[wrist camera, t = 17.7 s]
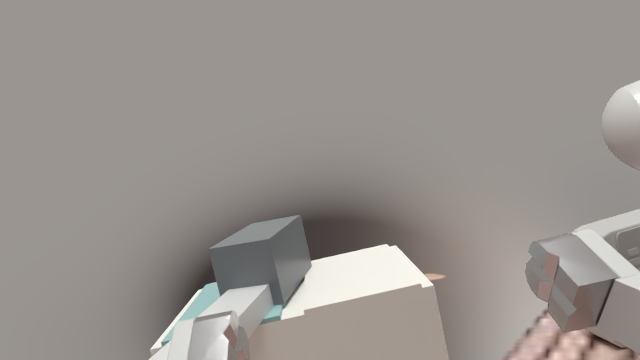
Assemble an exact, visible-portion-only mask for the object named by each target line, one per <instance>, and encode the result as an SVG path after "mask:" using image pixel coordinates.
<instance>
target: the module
mask: <svg viewBox="0 0 640 360" xmlns="http://www.w3.org/2000/svg"><path fill="white" fill-rule="evenodd" d="M209 253H210V257H211V261H212V265H213V269H214V274H215V278H216V281H217V286H218V290H219V294H220V298H218V299H217V300H216V301H215V302H214V303H213V304H212V305H210V306H209V307H208V308H207V309H206V310H205V311H204V312H202V313H201V314H200V315H199V316H198V317H201V316H206V315H211V314H216V313H221V312H227V311H232V310H235V311H236V313H237V315H238V317H239V324H238V325H239V326H241V327H243V328H244V330H245V332H246V335H247V338H249V337H250V336H251V335H252V333H253V332H254V331H255V329H256V328H257V327H258V326H259V324H260V323H261V322H262V320H263V319H264V318H265V316H266V315H267V314H268V313H269V311H270V310H271V309H272V307H273V306H275V305H283V304H285V303H286V301H287V300H288V299H289V297H290V296H291V294H292V293H293V292H294V290H295V289H296V287H297V286H298V285H299V283H300V282H301V281H302V279H303V278H304V276H305V275H306V274H307V272H308V271H309V269H310V268H311V267H312V264H311V260H310V256H309V251H308V247H307V242H306V238H305V233H304V229H303V225H302V221H301V216H300V215H297V216H292V217H286V218H281V219H276V220H270V221H264V222H259V223H253V224H251V225H249V226H247V227H245V228H244V229H242V230H240V231H239V232H237V233H235V234H233V235H232V236H230V237H228V238H227V239H225V240H223V241H221V242H220V243H218V244H216V245H215V246H213V247H211V248H210V249H209ZM170 343H171V341H169V342H168V343H167V344H166V345H165V346H164V347H163V348H161V349H160V350H159V351H158V352H157V353H156V354H155V355H153V356H152V357H151V358H150V359H149V360H167V357H168V353H169V348H170Z"/></svg>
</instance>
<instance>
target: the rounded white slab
mask: <svg viewBox="0 0 640 360" xmlns="http://www.w3.org/2000/svg"><path fill="white" fill-rule="evenodd" d="M587 229H590V230H593V231H595V232H596V233H597V234H598V235H599V236H600V237H602V238H603V239H604V240H605V241H606V242H607V243H608V244H609V245H611V246H612V247H613V248H614V249H615V250H616V251H617V252H618V253H620V254H621V255H622V256H623V257H624V258H625V259H626V260H627V261H629V262H630V263H631V264H632V265H633V266H634V267H635V268H636V269H637V270H639V271H640V209H638V210H634V211H631V212H628V213H625V214H621V215H618V216H614V217H611V218H607V219H604V220H601V221H597V222H594V223H590V224H587V225H584V226H580V227H579V228H577V229H576V230H574V231H573V232H578V231H582V230H587ZM596 327H597V326H594V327H589V328H585V329H586V330H587V331H589V332H590V333H592V334H594V335H596V336H598V337H600V338H602V339H605V340H607V341H609V342H611V343H613V344H615V345H617V346H619V347H621V348H623V347H626V346H625V345H623V344H622V343H620V342H618V341H617V340H615V339H614V338H612V337H610V336H609V335H607V334H605V333H604V332H602V331H601V330H599V329H597V328H596Z"/></svg>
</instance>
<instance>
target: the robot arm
mask: <svg viewBox="0 0 640 360" xmlns="http://www.w3.org/2000/svg"><path fill="white" fill-rule="evenodd" d="M602 134H603V137H604V140H605V143H606V144H607V146H608V148H609V149H610V151H611V152H612V153H613V154H614V155H615V156H616V157H617V158H618V159H620V161H622V162H623V163H625V164H626V165H628V166H630V167H632V168H635V169H637V170H640V80H639V81H636V82H634V83H632V84H629V85H627V86H625V87H622V88H620V89H618V90H617V91H616V92H615V93H614V94H613V96H612V97H611V99H610V100H609V102H608V103H607V105H606V108H605V110H604V113H603V117H602ZM529 253H530V254H531V256H532V258H531V259H530V260H529V261H528V262H527V263H526V271H525V273H526V277H527V282H528V284H529V286H530V288H531V290H532V291H533V292H534V294H535V295H536V296H537V298H539V299H541V300H543V301H545V302H547V303H548V310H547V311H548V313H549V314H550V315H551V316H552V318H553V319H554V320H555V322H556V323H557V324H558V326H559V327H560V328H561V330H562V331H563V332H569V331H574V330H579V329H584V328H589V327H594V326H597V327H596V328H597V329H599V330H601V331H602V332H604V333H605V334H607V335H609V336H610V337H612V338H614V339H615V340H617V341H618V342H620V343H622V344H623V345H625V346H626V347H628V348H630V349H631V350H633V351H635V352H636V353H638V354H639V355H640V271H639V270H637V269H636V268H635V267H634V266H633V265H632V264H631V263H630V262H629V261H627V260H626V259H625V258H624V257H623V256H622V255H621V254H620V253H618V252H617V251H616V250H615V249H614V248H613V247H612V246H611V245H609V244H608V243H607V242H606V241H605V240H604V239H603V238H602V237H600V236H599V235H598V234H597V233H596V232H595V231H593V230H590V229H587V230H582V231H578V232H573V233H570V234H563V235H559V236H555V237H551V238H547V239H543V240H538V241H534V242H532V244H531V245H530V247H529ZM238 324H239V317H238V315H237V313H236V311H235V310H232V311H227V312H221V313H216V314H211V315H206V316H201V317H196V318H192V319H187V320H183V321H178V322H177V323H176V325H175V327H174V329H173V334H172V339H171V343H170V348H169V353H168V357H167V360H250V351H249V343H248V338H247V335H246V332H245V330H244V328H243V327H241V326H239V325H238Z"/></svg>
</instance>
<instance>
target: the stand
mask: <svg viewBox="0 0 640 360" xmlns="http://www.w3.org/2000/svg"><path fill="white" fill-rule="evenodd" d="M311 264H312V267H311V268H310V269H309V271H308V272H307V274H306V275H305V276H304V278H303V279H302V281H301V282H300V283H299V285H298V286H297V287H296V289H295V290H294V292H293V293H292V294H291V296H290V297H289V299H288V300H287V301H286V303H285V304H283V305H275V306H273V307H272V309H271V310H270V311H269V313H268V314H267V315H266V316H265V318H264V319H263V320H262V322H261V323H260V324H259V326H258V327H257V328H256V329H255V331H254V332H253V333H252V335H251V336H250V337H249V338H248V343H249V351H250V360H449V357H448V352H447V347H446V342H445V338H444V333H443V328H442V323H441V318H440V313H439V308H438V303H437V299H436V294H435V289H434V285H433V284H432V283H431V282H430V281H429V280H428V279H427V278H426V277H425V275H424V274H423V273H421V271H420V270H419V269H418V268H417V267H416V266H415V265H414V264H413V263H412V262H411V261H410V260H409V259H408V258H407V257H406V256H405V255H404V253H403V252H402V251H401V250H400V249H399V248H398V247H397V246H391V247H389V246H388V245H387V244H385V245H380V246H376V247H372V248H368V249H363V250H358V251H354V252H349V253H345V254H341V255H336V256H331V257H327V258H322V259H318V260H314V261H311ZM218 298H220V294H219V290H218V286H217V282H216V283H211V284H207V285H206V286H205V287H204V288H203V289H200V290H198V292H196V294H195V295H194V296H193V298H192V299H191V300H190V301H189V303H188V304H187V305H186V306H185V307H184V309H183V310H182V311H181V312H180V313H179V315H178V316H177V317H176V318H175V320H174V321H173V322H172V323H171V325H170V326H169V327H168V328H167V329H166V331H165V332H164V333H163V334H162V336H161V337H160V338H159V340H158V341H157V342H156V343H155V344H154V345H153V347H152V348H151V349H150V351H151V355H152V356H153V355H155V354H156V353H157V352H158V351H159V350H160V349H161V348H163V347H164V346H165V345H166V344H167V343H168V342H169V341H171V339H172V334H173V329H174V327H175V325H176V323H177V322H178V321H183V320H187V319H192V318H196V317H198V316H199V315H200V314H201V313H202V312H204V311H205V310H206V309H207V308H208V307H209V306H210V305H212V304H213V303H214V302H215V301H216V300H217V299H218Z"/></svg>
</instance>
